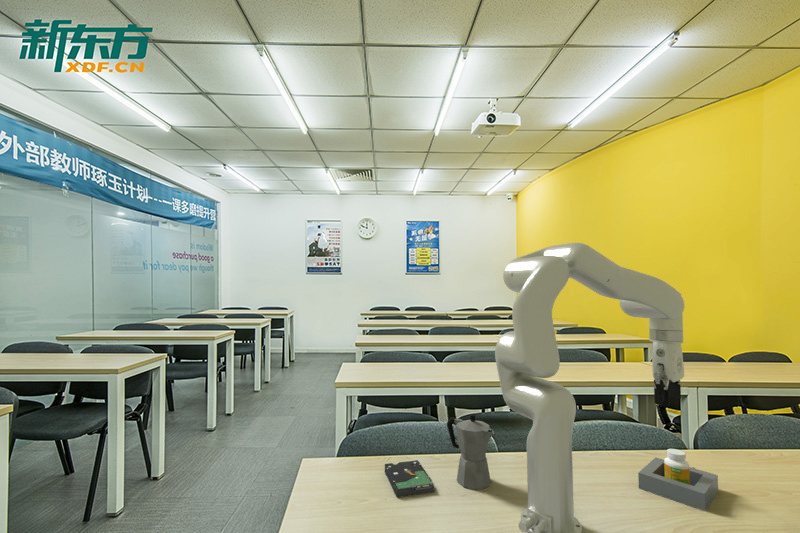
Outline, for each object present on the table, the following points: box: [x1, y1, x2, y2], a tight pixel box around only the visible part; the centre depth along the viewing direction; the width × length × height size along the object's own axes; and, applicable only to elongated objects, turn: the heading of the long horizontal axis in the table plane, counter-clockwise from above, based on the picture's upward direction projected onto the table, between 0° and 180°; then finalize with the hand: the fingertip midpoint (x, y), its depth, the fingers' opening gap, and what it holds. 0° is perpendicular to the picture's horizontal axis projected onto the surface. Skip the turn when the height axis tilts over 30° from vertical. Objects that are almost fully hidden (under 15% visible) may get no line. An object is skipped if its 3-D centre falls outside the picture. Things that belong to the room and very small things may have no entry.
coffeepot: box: [446, 413, 495, 491], centre depth 107 cm, size 15×9×18 cm, turn 45°
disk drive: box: [384, 459, 435, 499], centre depth 106 cm, size 10×3×15 cm
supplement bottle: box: [663, 448, 690, 485], centre depth 101 cm, size 5×5×10 cm
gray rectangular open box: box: [637, 456, 719, 512], centre depth 104 cm, size 23×14×4 cm, turn 131°
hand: (668, 401), depth 102 cm, fingers open, 9 cm apart
